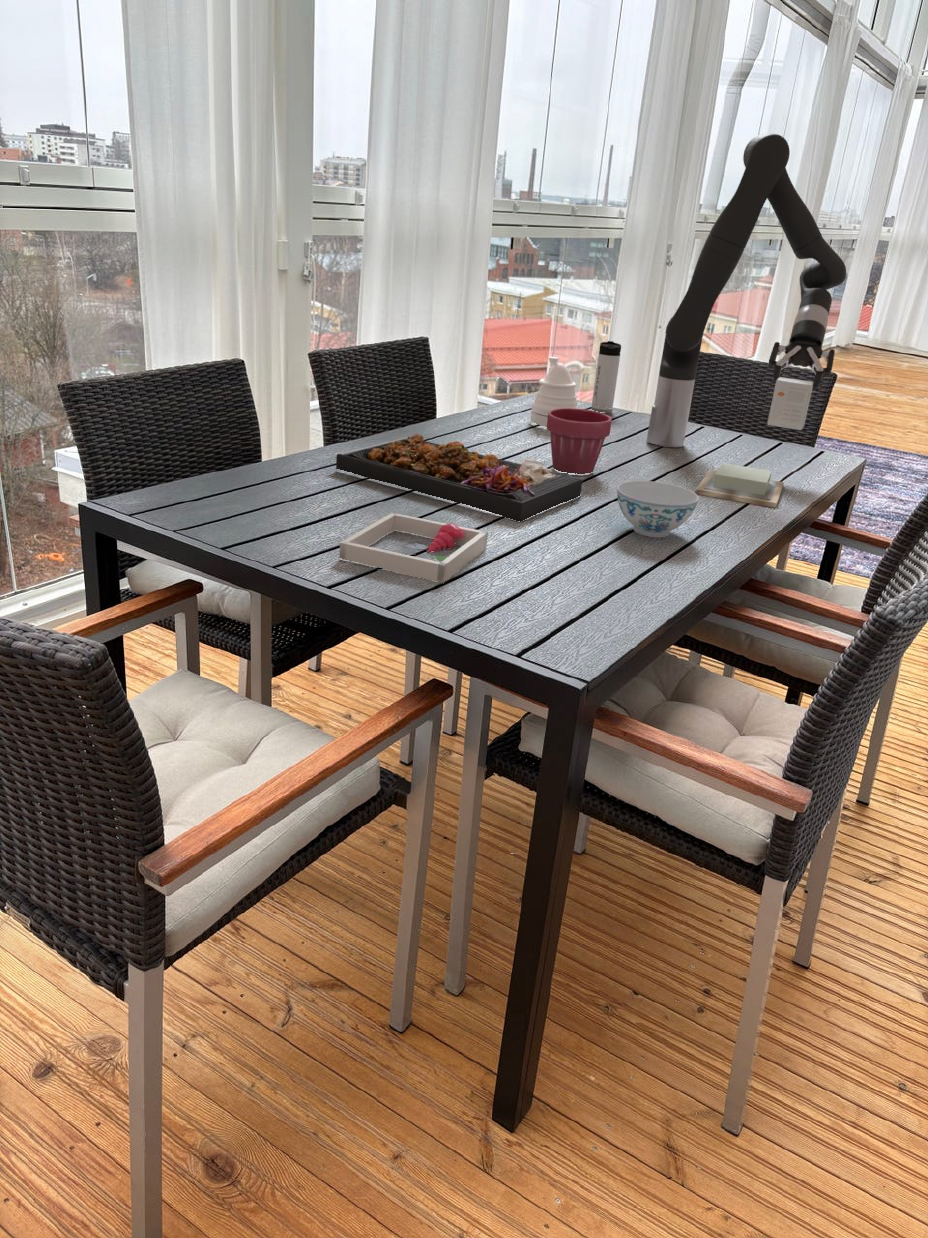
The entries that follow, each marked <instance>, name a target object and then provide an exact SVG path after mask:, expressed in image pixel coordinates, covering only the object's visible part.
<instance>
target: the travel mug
mask: <svg viewBox="0 0 928 1238" xmlns="http://www.w3.org/2000/svg"><path fill="white" fill-rule="evenodd" d="M621 351H622V345H621V344H620V343H617V342H614V341H613V340H612V341H610V340H607V341H603V342H600V343H599V351H598V356H597V364H596V372H595V380H594V385H593V392H592V393H593V394H592V401H591V409H592V410H594V411H598V412H605V413H609V414H612V413H613V409H609V408H613V407H614V400H615V393H616V388H617V380H618V373H619V367H620V362H621V360H620V359H621V358H620V357H621ZM598 406H599V407H598ZM606 407H607V408H606ZM591 409H590V410H591ZM592 410H591V411H592ZM611 412H612V413H611Z"/></svg>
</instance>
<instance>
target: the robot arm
mask: <svg viewBox="0 0 928 1238" xmlns="http://www.w3.org/2000/svg"><path fill="white" fill-rule="evenodd" d="M790 152H791V151H790V145H789V143H788V140H786V139H785V137H783V136H782V135H780V134H777V133H762V134H759V135H756V136H754V137H752V138H751V139H750V141H748V143H747V144H746V146H745V148H744V151H743V157H742V160H743V165H744V167H745V169H744V172H743V174H742V177H741V179H740V182H739V184H738V186H737V188H736V190H735V192H734V194H733V196H732V197H731V199H730V200H729V202H728V203H727V205H725V208H723V210H722V211H721V213H720V214H719V216H718V217H717V219H716V221H715V222H714V224H713V226H712V227H711V229H710V231H709V233H708V236H707V237H706V240H705V242H704V244H703V246H702V248H701V250H700V253H699V255H698V256H699V257H698V259H697V262H696V264H695V267H694V271H693V274H692V277H691V280H690V283H689V285H688V289H687V290H686V292H685V295H684V297H683V299H682V301H681V302H680V304H679V306H678V308H677V309H676V311H675V313H674V314H673V316H671V318H670V319H669V321H668V323H667V325H666V327H665V337H664V342H663V349H662V353H661V360H660V365H659V371H658V379H657V383H656V390H655V396H654V405H652V406H651V411H650V417H649V423H648V429H647V430H648V431H647V436H646V443H648V444H653V445H654V444H655V446H658V445H659V447H665V448H681V447H684V443H685V439H686V432H687V427H688V422H689V418H690V417H689V416H690V411H691V405H692V399H693V394H694V387H695V381H696V376H697V371H698V365H699V359H700V353H701V347H702V343H703V336H704V332H705V329H706V327H707V324H708V320H709V317H710V316H711V312H712V310H713V308H714V307H715V304H716V302H717V299H718V297H719V296H720V294H721V293H722V292H723V289H724V288H725V287H726V285H727V283H728V281H729V280H730V278H731V276H732V275H733V273H734V270H735V269H736V268H737V265H738V264H739V261H740V259H741V258H742V256H743V253H744V251H745V248H746V247H747V245H748V242H749V240H750V237H751V235H752V234H753V231H754V229H755V227H756V224H757V221H758V219H759V216H760V215H761V212H762V209H763V208H764V205H765V203H766V201H767V200H768V202H769V204H770V205H771V208H772V209H773V212H774V214H775V215H776V218H777V220H778V222H779V225H780V226H781V228H782V231H783V233H784V234H785V235H784V236H785V237H786V239H787V242H788V244H789V245H790V247H791V250H792V251H793V254H794V255H795V257H796V258H797V259H799V260H806V259H813V260H814V261H816V262H814V263H812V264H810V265H807V266H806V267H804V268H803V270H802V272H801V273H800V275H799V286H800V287H799V289H800V302H799V308H798V311H797V314H796V316H795V318H794V322H793V326H792V330H791V333H790V338H789V341H788V344H786V345H781V342H779V341H776V342H774V344H773V346H772V350H771V353H770V356H769V358H768V363H767V364H768V365H767V368H768V369H770V370H771V369H773V370H774V372H773V375H772V382H774V385H775V384H776V380H777V379H778V378H779V377H781V371H782V370H783V369H786V368H788V367H790V366H791V365H792V366H794V367H795V366H796V367H799V366H800V367H803V368H807V367H809V369H810V370H811V371H812V373H814V374H815V375H814V379H813V382H814V383H813V388H812V391H813V390H816V389H818V388H820V385H821V380H822V378H823V377H827V378H828V377H830V376H831V374H832V371H833V365H834V358H835V352H836V351H835V349H829V351H825V350H824V351H823V349H822V348H823V344H824V339H825V336H826V333H827V329H828V328H827V327H828V323H829V322H828V321H829V314H830V311H831V306H832V302H833V300H832V299H833V298H832V295H831V293H830V291H828V290H830V289H833V288H835V287H838V286H840V285H842V284H843V282H844V281H845V280H846V277H847V268H846V264H845V262H844V260H843V259H842V258H841V256H840V255H839V254H838V253H837V252H836V251H835V250H834V249H833V248H832V247H831V245H829V243H828V242H827V241H826V240H825V238H824V237H823V235H822V233H821V231H820V228H819V226H818V225H817V221H816V220H815V219H814V218H815V217H813V215H812V213H811V211H810V210H809V208H808V206H807V205H806V204H805V202H804V201H803V199H802V198H801V196H800V195H799V193H798V192H797V190H796V188H795V186H794V184H793V182H792V181H791V178H790V176H789V174H788V171H787V164H788V162H789V159H790ZM783 352H784V356H783V357H782V358H781V359H779V360H778V361H776V360H777V357H778V356H780V355H781V354H782V353H783ZM821 358H823V361H825V362H826V366H825V367H823V366H822V364H821V362H820V359H821Z"/></svg>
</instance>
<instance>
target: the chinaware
mask: <svg viewBox="0 0 928 1238" xmlns="http://www.w3.org/2000/svg"><path fill="white" fill-rule="evenodd" d="M616 496H617V500H618V505H619V508H620V511H621V513H622V514H623V516H624V517H625V519H626V520H627V521H628V522H629V523H630V524H631V525H632V526H633V527H632V528H633V531H634V532H635V533H637V534H639V535H641V536H643V537H649V538H665V537H668V536H669V535H670V532H671V531H673V530H676V529H678V528H679V527H680V526H682V525H684V523H686V522H687V521H688V519H689V518H690V517H691V516H692V514H693V513H694V511H695V509H696V507H697V506H698V503H699V499H700V497H699V494H696V493H695V492H694V491H693V490H690V489H688V488H685V487H683V486H679V485H676V484H671V483H666V482H660V481H650V480H630V481H624V482H622V483H619V484H618V486H617V487H616Z"/></svg>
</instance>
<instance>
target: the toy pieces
mask: <svg viewBox="0 0 928 1238" xmlns="http://www.w3.org/2000/svg"><path fill="white" fill-rule="evenodd" d="M445 524H446V525H443V526H442V527H441V528H440V529H439V533H438V534H437V535H436V537H435V538H434V540H432V541H431V543H430V544H429V546H428V548H427V549H426V551H427V552H431V551H436V550H440V551H442V550H441V549H445V550H447V548H451V549H452V548H453V547H454V546H455V545H456V544H455V542H454V538H457V539H462V538H463V537H464V533H463V532H462V530H461V529H460V528H459V527H458V526H459V525H455V524H453V523H445ZM413 543H414V544H410V545H413V546H415V547H416V546H419V545H420V544H418V543H419V542H413ZM420 546H421V545H420ZM431 553H432V552H431ZM435 556H436V559H437V560H439V561H443V560H445V559H446V558H447V557H448V556H449V555H448V556H447V555H435Z"/></svg>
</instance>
